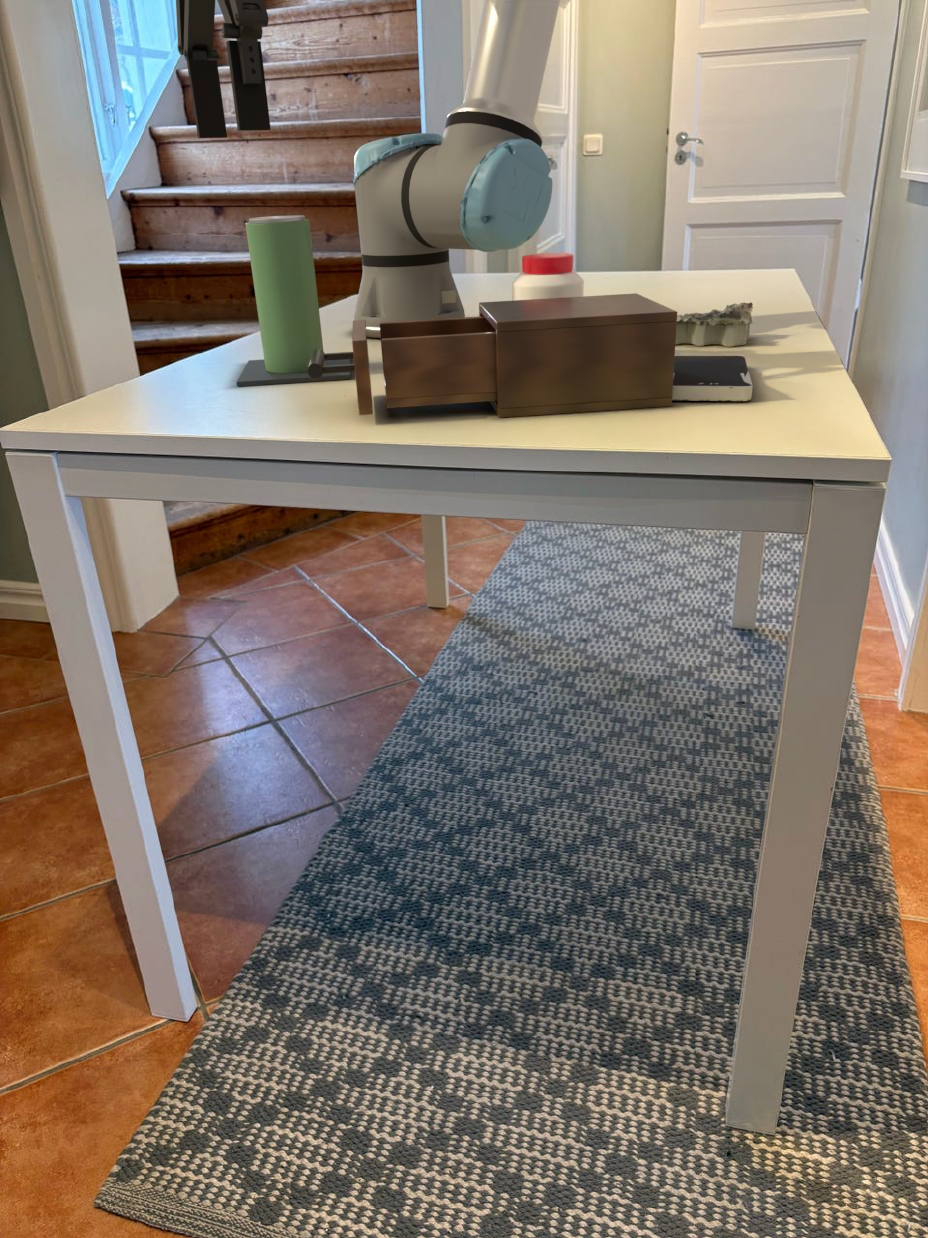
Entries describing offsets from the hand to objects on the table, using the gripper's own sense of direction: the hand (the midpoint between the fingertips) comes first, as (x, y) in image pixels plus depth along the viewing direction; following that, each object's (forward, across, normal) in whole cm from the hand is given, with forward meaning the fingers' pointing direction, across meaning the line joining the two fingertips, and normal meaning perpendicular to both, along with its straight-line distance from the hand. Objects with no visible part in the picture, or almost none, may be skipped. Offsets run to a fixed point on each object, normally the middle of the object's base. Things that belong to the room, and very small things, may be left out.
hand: (232, 134), depth 83 cm
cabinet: (+23, +22, +23) cm, 40 cm away
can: (+23, -6, +6) cm, 24 cm away
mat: (+23, -6, +6) cm, 25 cm away
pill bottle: (+23, +7, +30) cm, 39 cm away
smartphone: (+23, +27, +36) cm, 50 cm away
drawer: (+22, +17, +9) cm, 29 cm away
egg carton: (+23, +10, +51) cm, 57 cm away
